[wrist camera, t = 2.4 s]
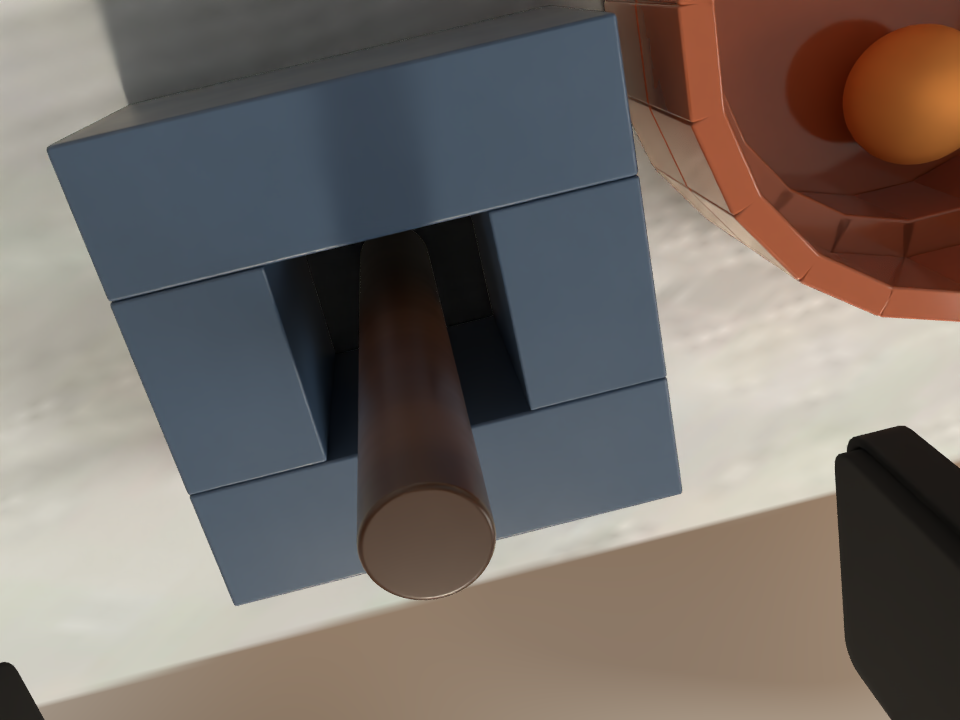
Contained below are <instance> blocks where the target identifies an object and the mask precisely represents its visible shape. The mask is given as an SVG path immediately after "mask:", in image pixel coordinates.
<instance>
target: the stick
mask: <svg viewBox="0 0 960 720" xmlns="http://www.w3.org/2000/svg"><path fill="white" fill-rule="evenodd" d="M495 544H496V529H495V524H494V519H493V515H492V511H491V507H490V503H489V499H488V495H487V491H486V487H485V483H484V478H483V474H482V470H481V466H480V462H479V458H478V454H477V450H476V446H475V442H474V437H473V433H472V429H471V425H470V421H469V417H468V413H467V409H466V405H465V401H464V397H463V392H462V388H461V384H460V380H459V376H458V372H457V368H456V364H455V360H454V356H453V351H452V347H451V343H450V339H449V335H448V331H447V327H446V323H445V319H444V315H443V310H442V306H441V302H440V298H439V294H438V290H437V286H436V282H435V278H434V274H433V270H432V265H431V261H430V257H429V253H428V250H427V247H426V245H425V243H424V241H423V240H422V238H421V237H420V236H419V235H418V234H417V233H415V232H414V231H412V230H408V231H403V232H399V233H395V234H391V235H387V236H383V237H379V238H375V239H370V240H366V241H365V242H364V244H363V246H362V249H361V253H360V298H359V384H358V470H357V552H358V556H359V560H360V562H361V564H362V566H363V568H364V570H365V571H366V573H367V574H368V575H369V576H370V578H371V579H372V580H373V581H374V582H375V583H376V584H377V585H378V586H380V587H381V588H383V589H384V590H386V591H388V592H390V593H392V594H394V595H397V596H400V597H403V598H407V599H414V600H431V599H438V598H443V597H446V596H449V595H452V594H454V593H457V592H459V591H461V590H462V589H464V588H466V587H467V586H469V585H470V584H471V583H473V582H474V581H475V580H476V579H477V578H478V577H479V576H480V575H481V574H482V573H483V571H484V570H485V568H486V567H487V565H488V564H489V562H490V560H491V557H492V555H493V552H494V549H495Z"/></svg>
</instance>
